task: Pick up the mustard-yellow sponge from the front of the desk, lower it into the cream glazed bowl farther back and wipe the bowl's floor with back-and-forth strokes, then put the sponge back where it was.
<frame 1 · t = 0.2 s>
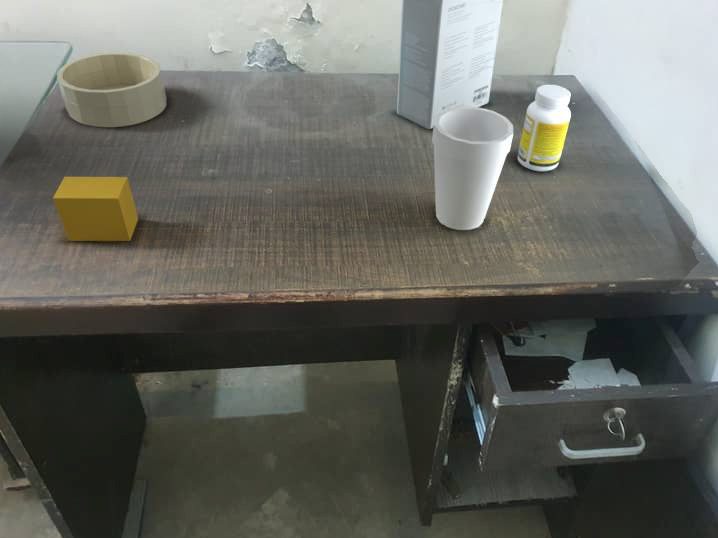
pill bottle: (537, 163, 95), on the table
hard drive box: (442, 110, 106), on the table
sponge: (104, 229, 76), on the table
bowl: (118, 105, 100), on the table
foam cup: (459, 217, 83), on the table
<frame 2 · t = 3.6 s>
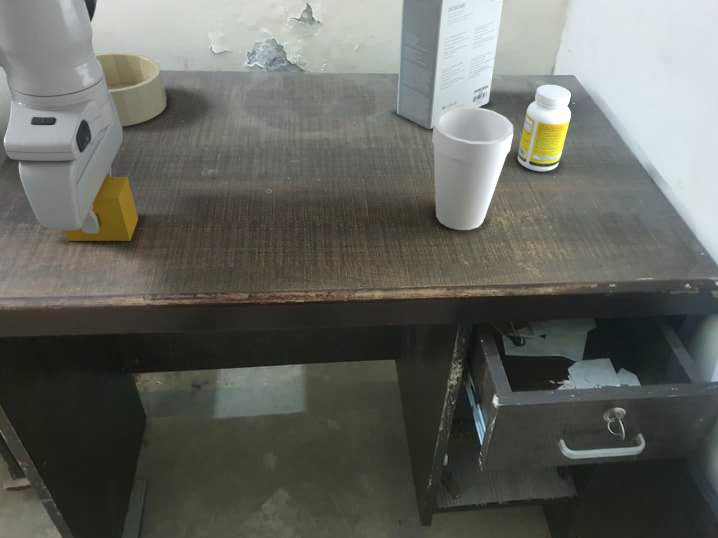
hand: (99, 215, 75), 2 cm above the table, tool pointing down, fingers closed on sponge, 4 cm apart
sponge: (104, 229, 76), on the table, touching gripper
everything else where it was.
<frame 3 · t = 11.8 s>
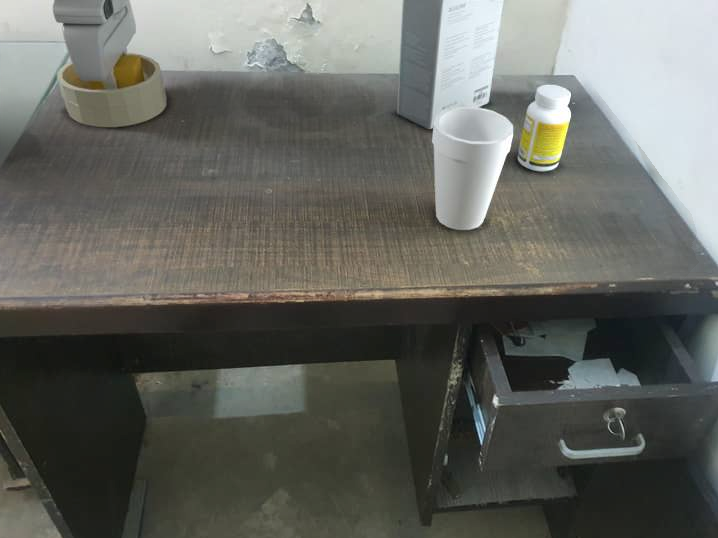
hand: (118, 84, 99), 3 cm above the table, tool pointing down, fingers closed on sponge, 4 cm apart
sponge: (121, 97, 100), point 1 cm above the table, touching bowl, gripper
bowl: (118, 105, 100), on the table, touching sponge
everything else where it was.
when the fingers open (2 cm above the table, at t = 20.2 s): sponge stays where it is, on the table.
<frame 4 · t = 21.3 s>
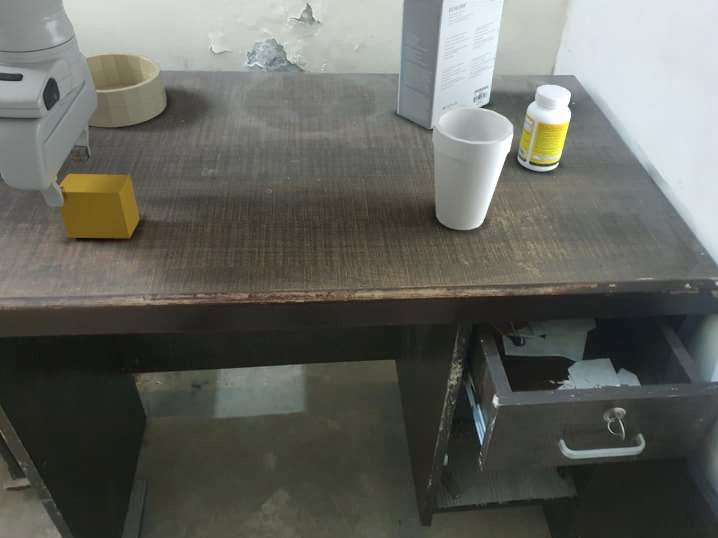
hand: (70, 180, 74), 5 cm above the table, tool pointing down, fingers open, 8 cm apart
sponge: (105, 228, 76), on the table, tilted 5°, touching gripper
bowl: (118, 105, 100), on the table
everything else where it was.
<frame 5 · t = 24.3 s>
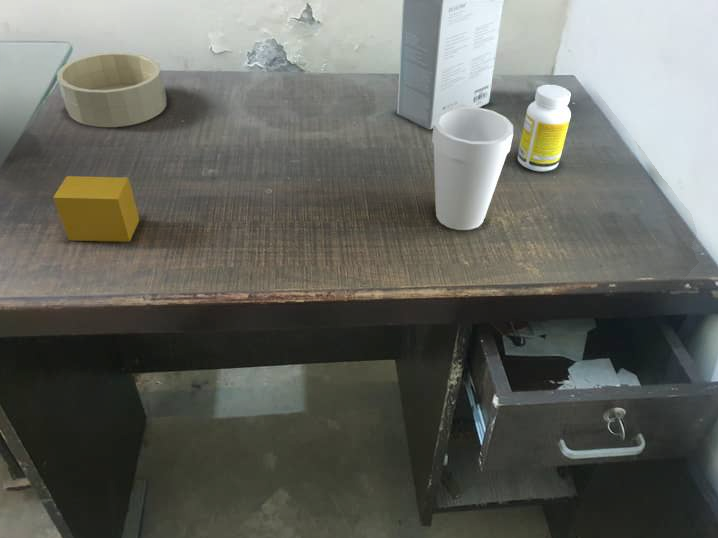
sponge: (105, 229, 76), on the table
everything else where it was.
at the end: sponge 0.1 cm from the target spot, on the table; bowl moved 0.0 cm from its start; the gripper is holding nothing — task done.
